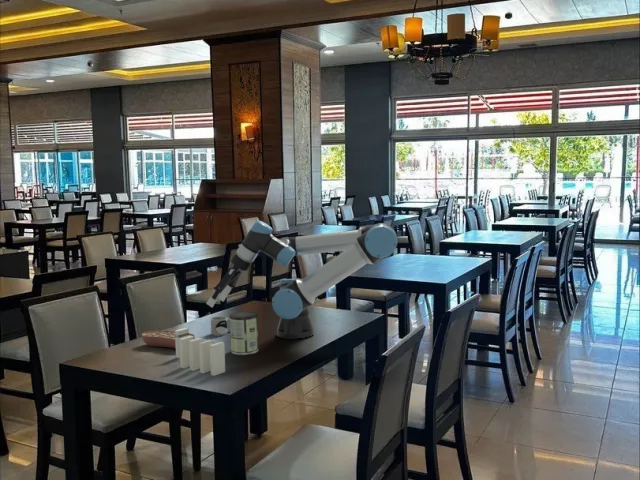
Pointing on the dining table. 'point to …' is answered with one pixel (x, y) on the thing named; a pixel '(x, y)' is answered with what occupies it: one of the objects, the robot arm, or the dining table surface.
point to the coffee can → (244, 332)
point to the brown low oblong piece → (160, 338)
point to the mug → (219, 326)
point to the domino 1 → (178, 335)
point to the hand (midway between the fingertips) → (215, 302)
